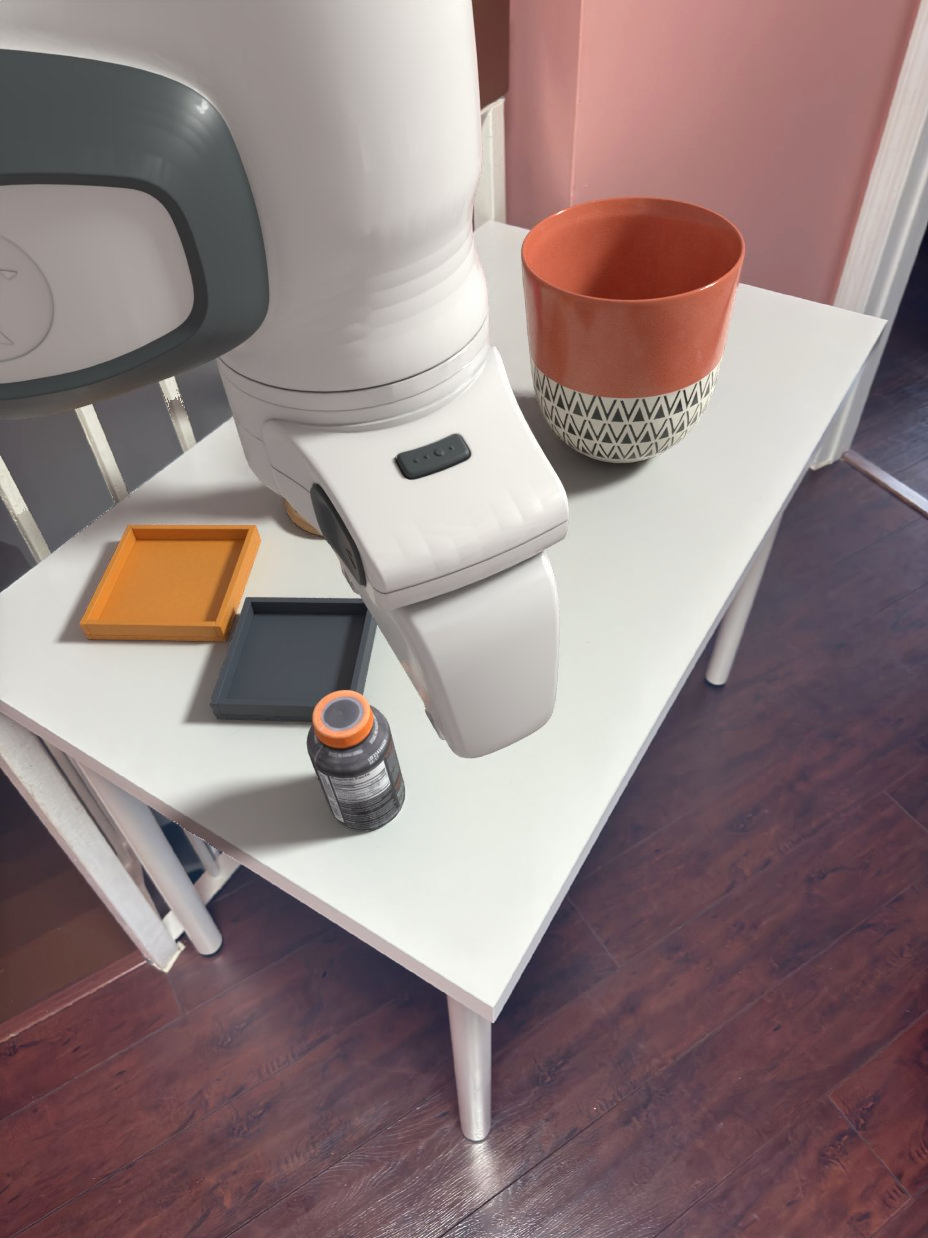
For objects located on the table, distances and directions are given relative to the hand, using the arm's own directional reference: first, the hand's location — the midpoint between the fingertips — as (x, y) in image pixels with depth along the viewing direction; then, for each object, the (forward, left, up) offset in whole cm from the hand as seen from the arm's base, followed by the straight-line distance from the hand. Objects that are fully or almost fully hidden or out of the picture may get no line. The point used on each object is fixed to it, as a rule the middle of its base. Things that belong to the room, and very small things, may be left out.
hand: (406, 646), depth 41 cm
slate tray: (-16, +22, -29) cm, 40 cm away
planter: (+12, +53, -29) cm, 62 cm away
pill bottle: (-8, +9, -29) cm, 32 cm away
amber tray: (-30, +31, -29) cm, 52 cm away
